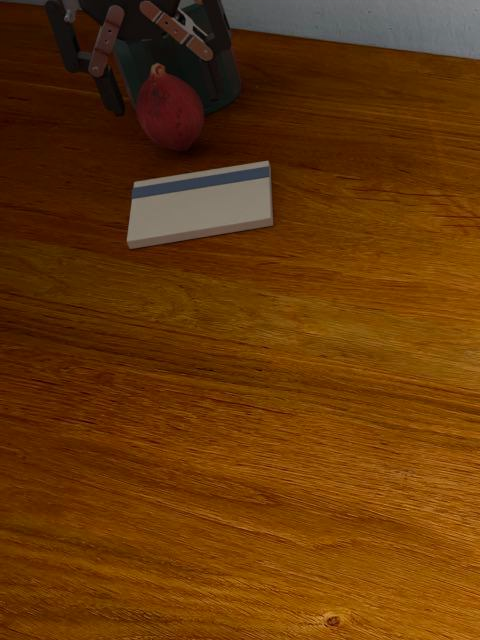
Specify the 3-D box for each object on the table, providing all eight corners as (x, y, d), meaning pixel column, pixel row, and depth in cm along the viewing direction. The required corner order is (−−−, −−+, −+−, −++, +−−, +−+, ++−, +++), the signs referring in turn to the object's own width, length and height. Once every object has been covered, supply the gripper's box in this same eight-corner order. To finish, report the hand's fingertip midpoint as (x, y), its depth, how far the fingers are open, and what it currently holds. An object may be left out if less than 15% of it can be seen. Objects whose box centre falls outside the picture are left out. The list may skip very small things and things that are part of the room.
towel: (129, 249, 88) (125, 240, 87) (137, 189, 94) (133, 180, 94) (273, 226, 89) (270, 216, 88) (270, 168, 95) (268, 159, 95)
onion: (200, 167, 96) (172, 80, 90) (142, 166, 97) (110, 80, 91) (223, 136, 100) (197, 51, 94) (166, 135, 101) (137, 51, 95)
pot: (127, 141, 101) (89, 40, 94) (138, 68, 112) (104, -27, 104) (242, 123, 101) (213, 21, 94) (242, 53, 112) (215, -43, 105)
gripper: (192, -121, 86) (246, 76, 98) (16, -97, 85) (92, 99, 97) (190, -92, 81) (247, 112, 93) (2, -66, 80) (84, 137, 92)
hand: (168, 105), depth 95 cm, fingers open, 8 cm apart
